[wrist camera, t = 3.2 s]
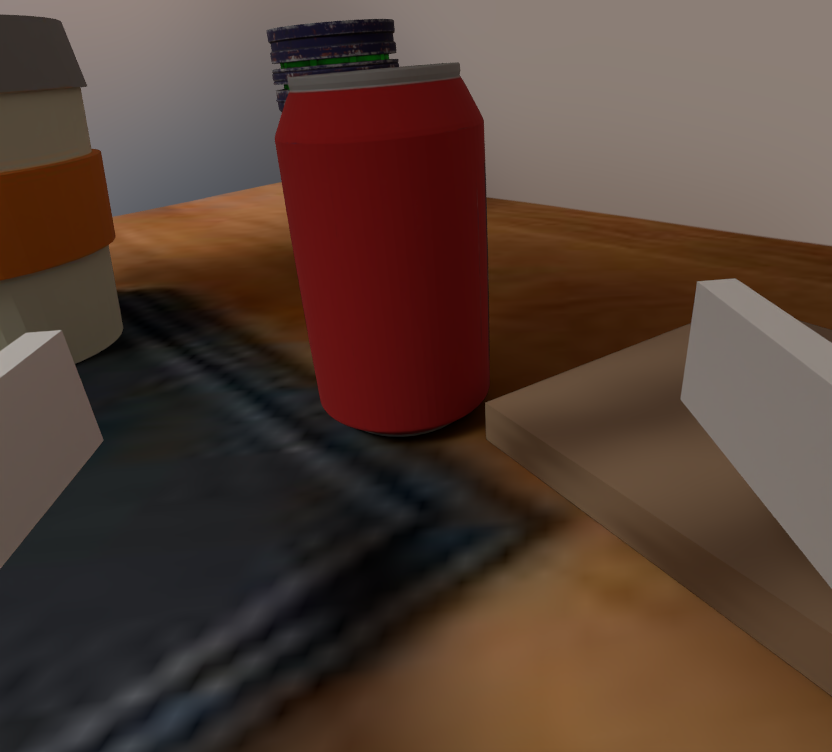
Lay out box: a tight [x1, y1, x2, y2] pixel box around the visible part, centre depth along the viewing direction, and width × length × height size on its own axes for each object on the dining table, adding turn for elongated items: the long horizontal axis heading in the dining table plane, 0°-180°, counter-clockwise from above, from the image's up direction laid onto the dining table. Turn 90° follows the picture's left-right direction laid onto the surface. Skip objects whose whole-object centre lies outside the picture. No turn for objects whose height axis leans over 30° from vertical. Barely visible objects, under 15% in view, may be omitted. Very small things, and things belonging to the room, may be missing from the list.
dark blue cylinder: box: [267, 19, 399, 112], centre depth 49 cm, size 10×10×15 cm
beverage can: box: [275, 63, 490, 437], centre depth 22 cm, size 7×7×12 cm
